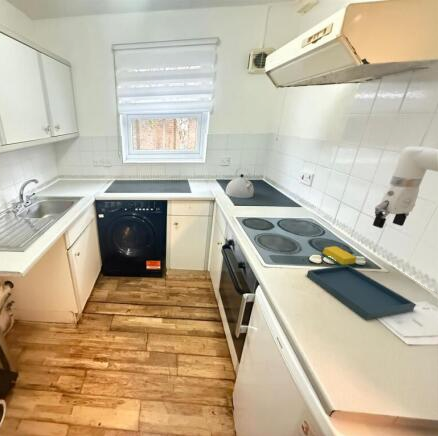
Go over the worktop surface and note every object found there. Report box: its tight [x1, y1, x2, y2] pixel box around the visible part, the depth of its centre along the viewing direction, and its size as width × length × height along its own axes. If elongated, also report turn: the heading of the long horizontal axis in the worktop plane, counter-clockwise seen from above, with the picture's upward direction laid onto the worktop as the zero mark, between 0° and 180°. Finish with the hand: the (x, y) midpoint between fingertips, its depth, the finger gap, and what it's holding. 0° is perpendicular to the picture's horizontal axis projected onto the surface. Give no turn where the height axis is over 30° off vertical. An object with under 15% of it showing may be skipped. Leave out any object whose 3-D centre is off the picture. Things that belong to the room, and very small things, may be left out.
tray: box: [306, 265, 417, 321], centre depth 88 cm, size 20×24×3 cm
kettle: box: [224, 166, 255, 199], centre depth 198 cm, size 25×23×22 cm
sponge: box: [321, 245, 358, 267], centre depth 108 cm, size 10×6×4 cm, turn 12°
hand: (387, 225), depth 92 cm, fingers open, 9 cm apart
